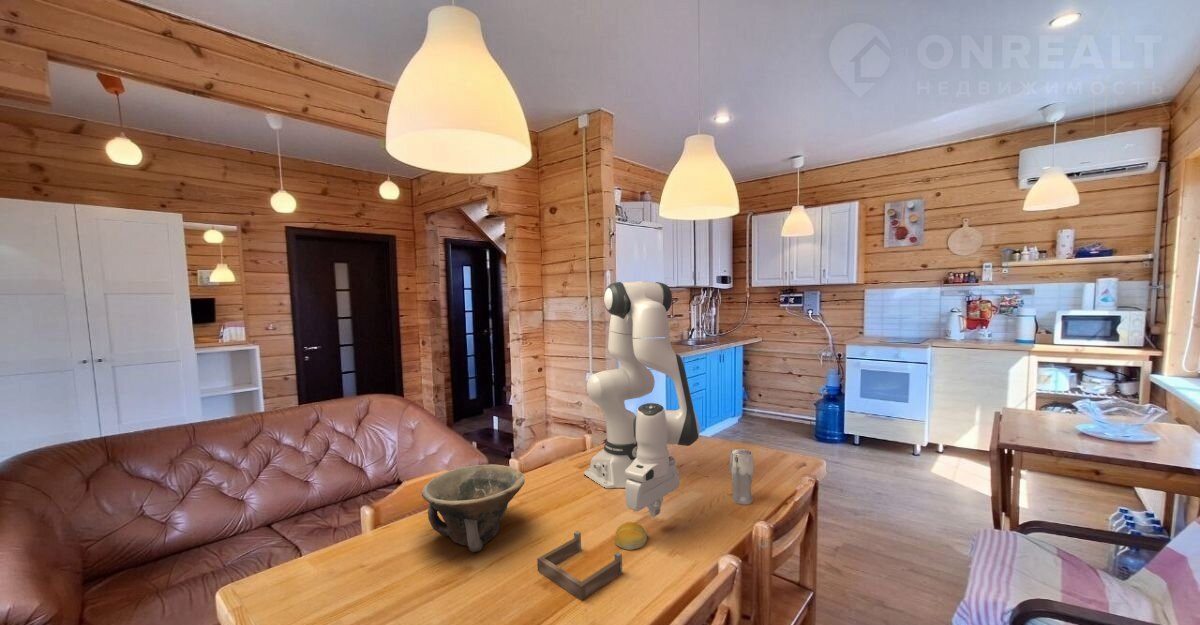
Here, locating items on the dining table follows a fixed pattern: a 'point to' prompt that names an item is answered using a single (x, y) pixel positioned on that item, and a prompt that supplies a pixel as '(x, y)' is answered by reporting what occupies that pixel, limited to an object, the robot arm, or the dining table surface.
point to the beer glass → (741, 475)
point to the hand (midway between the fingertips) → (655, 514)
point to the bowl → (471, 502)
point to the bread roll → (630, 536)
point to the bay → (568, 581)
